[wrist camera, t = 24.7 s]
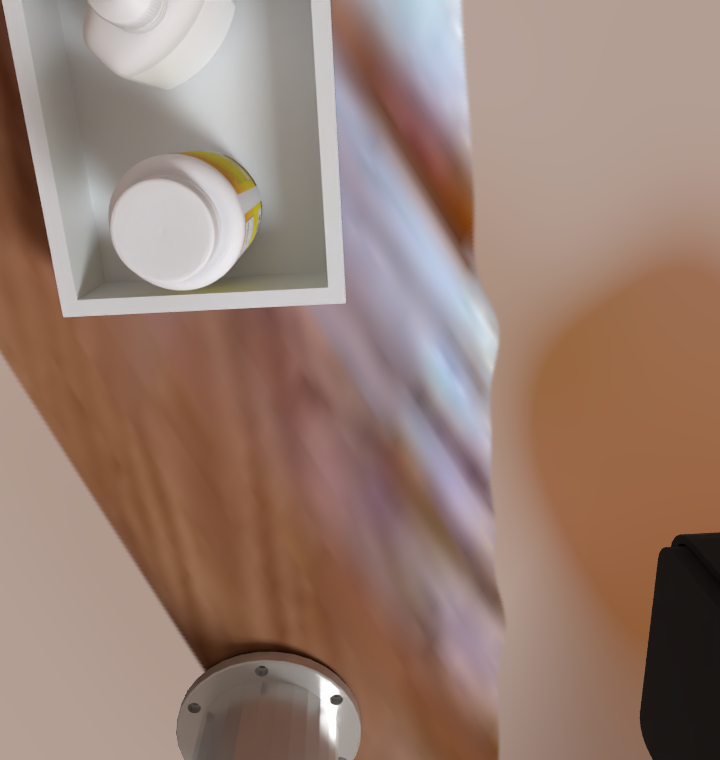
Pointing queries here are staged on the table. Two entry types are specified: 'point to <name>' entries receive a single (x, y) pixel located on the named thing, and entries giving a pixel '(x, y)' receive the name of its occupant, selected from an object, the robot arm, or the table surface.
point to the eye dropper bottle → (157, 37)
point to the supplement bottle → (184, 218)
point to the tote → (184, 134)
